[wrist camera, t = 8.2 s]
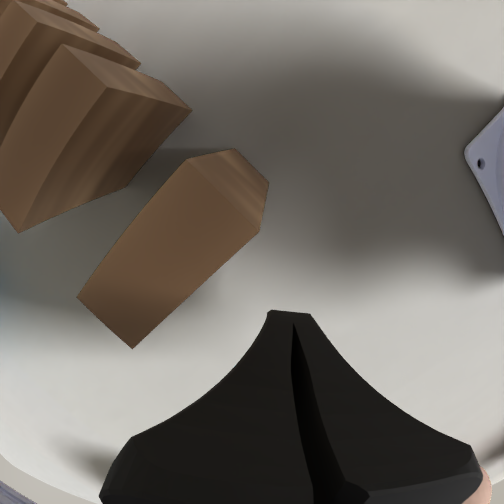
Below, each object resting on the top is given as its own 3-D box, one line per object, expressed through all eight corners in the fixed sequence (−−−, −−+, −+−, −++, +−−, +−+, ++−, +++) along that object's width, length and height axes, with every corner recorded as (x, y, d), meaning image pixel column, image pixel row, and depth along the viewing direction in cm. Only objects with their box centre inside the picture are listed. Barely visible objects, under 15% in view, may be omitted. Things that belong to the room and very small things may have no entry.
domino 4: (269, 182, 13) (258, 231, 6) (195, 254, 14) (132, 349, 7) (234, 148, 12) (185, 159, 6) (163, 223, 14) (76, 297, 7)
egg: (412, 468, 20) (430, 542, 12) (482, 436, 18) (510, 503, 10) (413, 492, 22) (426, 553, 14) (472, 466, 20) (493, 523, 12)
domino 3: (192, 110, 12) (107, 86, 5) (125, 187, 13) (18, 233, 7) (161, 81, 11) (61, 43, 5) (97, 159, 13) (-16, 186, 6)
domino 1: (99, 28, 10) (-1, -13, 4) (45, 102, 12) (-62, 104, 5) (79, 13, 10) (-15, -25, 4) (29, 83, 11) (-72, 80, 5)
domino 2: (141, 63, 11) (37, 21, 5) (81, 140, 13) (-34, 157, 6) (115, 41, 11) (12, -1, 4) (59, 116, 12) (-53, 124, 6)
